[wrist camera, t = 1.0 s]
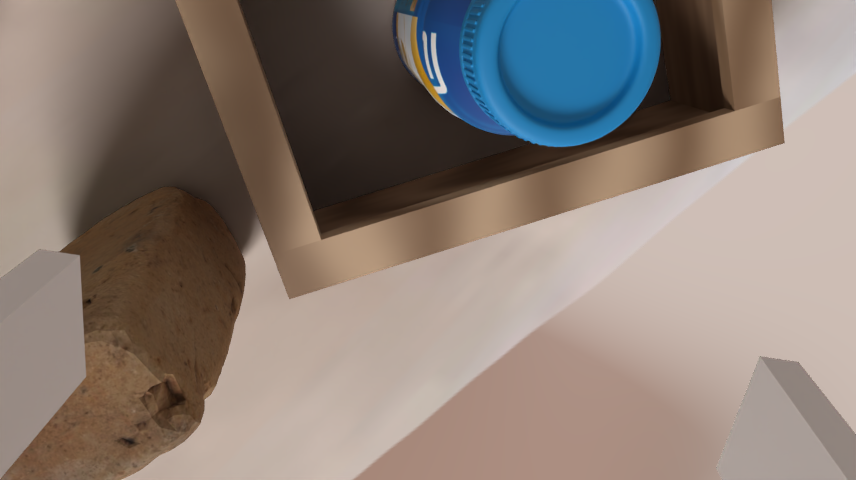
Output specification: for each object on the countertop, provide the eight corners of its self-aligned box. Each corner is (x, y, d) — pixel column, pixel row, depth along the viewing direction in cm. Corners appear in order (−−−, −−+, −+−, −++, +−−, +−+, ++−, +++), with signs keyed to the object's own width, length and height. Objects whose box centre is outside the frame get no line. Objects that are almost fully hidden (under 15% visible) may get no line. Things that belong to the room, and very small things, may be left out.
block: (199, 162, 43) (113, 294, 24) (262, 264, 46) (229, 452, 27) (40, 244, 43) (-166, 436, 25) (113, 341, 46) (-23, 580, 27)
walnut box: (294, 236, 45) (289, 299, 36) (178, -80, 39) (136, -102, 29) (690, 112, 47) (784, 143, 38) (645, -213, 40) (746, -275, 31)
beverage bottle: (542, -32, 42) (723, -49, 24) (507, 108, 45) (647, 192, 26) (404, -66, 41) (482, -115, 22) (375, 82, 43) (424, 151, 24)
